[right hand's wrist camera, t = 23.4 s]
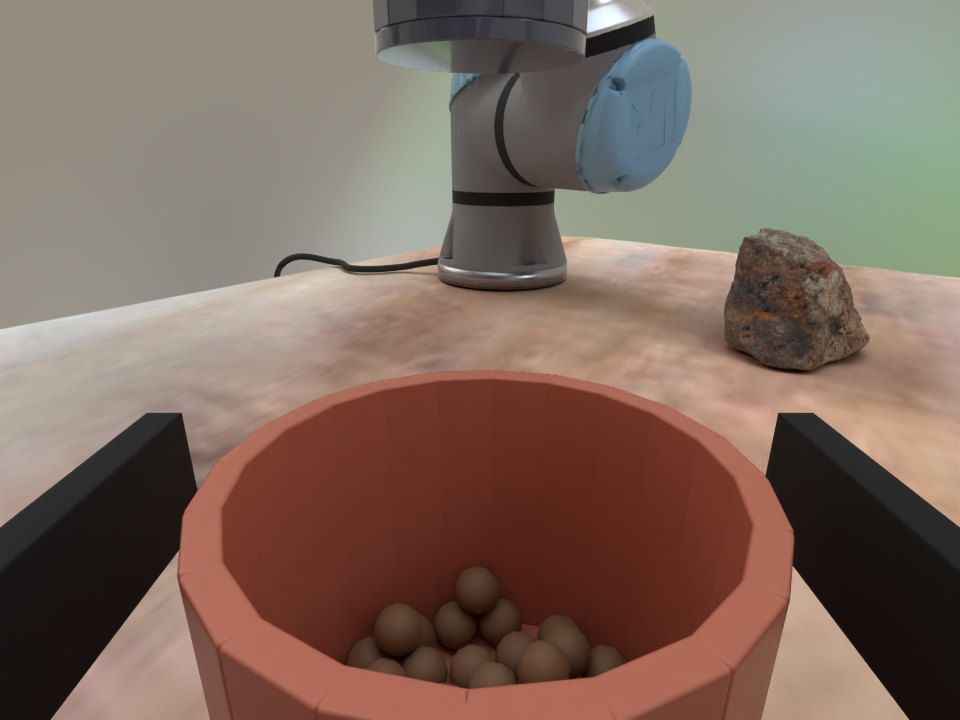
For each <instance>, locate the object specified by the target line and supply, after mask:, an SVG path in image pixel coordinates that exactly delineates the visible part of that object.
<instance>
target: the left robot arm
mask: <svg viewBox="0 0 960 720" xmlns="http://www.w3.org/2000/svg"><path fill="white" fill-rule="evenodd" d="M680 55H681V53H680V52H679V50H678V49H677V48H676V47H675V46H673V45H672V44H670V43H668V42H664V41H663V40H661V39H656V33H655V24H654V13H653V9H652V8H651V7H649V6H648V5H647V4H645V3H644V2H643V1H641V0H589V11H588V26H587V39H586V53H585V58H584V60H583V61H581V62H580V63H577V64H575V65H572V66H568V67H564V68H559V69H553V70H545V71H536V72H523V73H498V74H474V73H453V76H452V81H451V93H450V101H449V110H450V112H451V150H452V195H453V209H452V215H451V218H450V222H449V225H448V229H447V232H446V235H445V239H444V243H443V246H442V249H441V253H440V256H439V258H434V259H427V260H420V261H415V262H410V263H404V264H395V265H384V266H354V265H349V264H347V263H346V262H345V261H343V260H339V259H332V258H327V257H322V256H318V255H312V254H293V255H290V256H288V257H286V258H284V259H283V260H282V261H281V262H280V263H279V264H278V266H277V268H276V270H275V273H274V278H275V277H280V274H281V271H282V269H283V268H284V266H286V265H287V264H288V263H290V262H292V261H294V260H301V259H305V260H313V261H318V262H322V263H327V264H332V265H339V266H342V267H343V268H344V269H345V270H348V271H352V272H387V271H398V270H406V269H412V268H417V267H423V266H430V265H437V264H438V276H439V278H440V279H441V280H443V281H444V282H447V283H450V284H453V285H457V286H463V287H469V288H478V289H494V290H515V289H531V288H539V287H546V286H550V285H554V284H557V283H560V282H562V281H564V280H565V279H566V273H567V259H566V256H565V252H564V248H563V245H562V241H561V237H560V233H559V229H558V226H557V222H556V218H555V214H554V191H555V188H557V189H569V190H580V191H589V192H592V193H595V194H606V193H609V192H629V191H634V190H637V189H640V188H643V187H645V186H646V185H648V184H650V183H651V182H652V181H654V180H655V179H656V178H657V177H658V176H659V175H660V174H661V173H662V172H663V171H664V170H665V169H666V168H667V166H668V165H669V164H670V162H671V161H672V159H673V157H674V155H675V152H676V150H677V148H678V146H679V145H680V144H681V142H682V139H683V136H684V134H685V131H686V128H687V124H688V120H689V115H690V108H691V96H692V87H691V78H690V73H689V69H688V66H687V63H686V61H685V60H684V59H681V58H680Z"/></svg>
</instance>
